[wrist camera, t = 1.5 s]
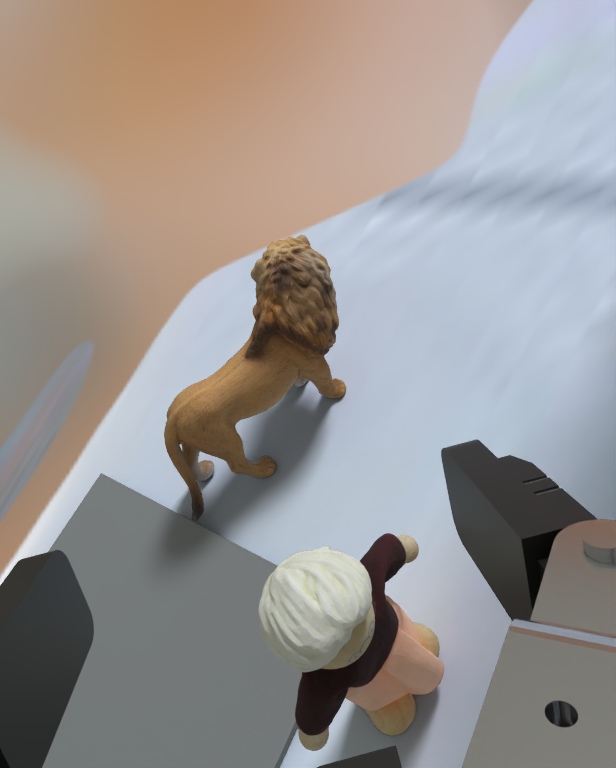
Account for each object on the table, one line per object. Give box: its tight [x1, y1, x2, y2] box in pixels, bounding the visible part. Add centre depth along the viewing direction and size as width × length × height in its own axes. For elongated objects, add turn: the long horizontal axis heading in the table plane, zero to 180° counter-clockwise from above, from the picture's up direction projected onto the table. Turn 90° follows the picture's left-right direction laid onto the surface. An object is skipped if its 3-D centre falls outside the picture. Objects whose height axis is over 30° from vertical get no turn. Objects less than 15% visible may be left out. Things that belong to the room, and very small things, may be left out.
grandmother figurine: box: [259, 533, 444, 751], centre depth 19 cm, size 8×4×13 cm, turn 159°
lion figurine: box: [164, 235, 346, 521], centre depth 29 cm, size 15×5×9 cm, turn 141°
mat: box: [42, 473, 302, 768], centre depth 28 cm, size 14×18×1 cm
